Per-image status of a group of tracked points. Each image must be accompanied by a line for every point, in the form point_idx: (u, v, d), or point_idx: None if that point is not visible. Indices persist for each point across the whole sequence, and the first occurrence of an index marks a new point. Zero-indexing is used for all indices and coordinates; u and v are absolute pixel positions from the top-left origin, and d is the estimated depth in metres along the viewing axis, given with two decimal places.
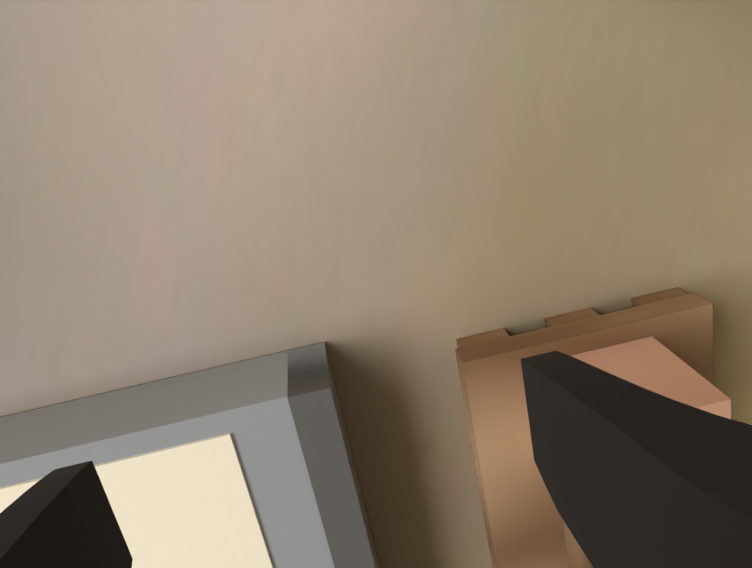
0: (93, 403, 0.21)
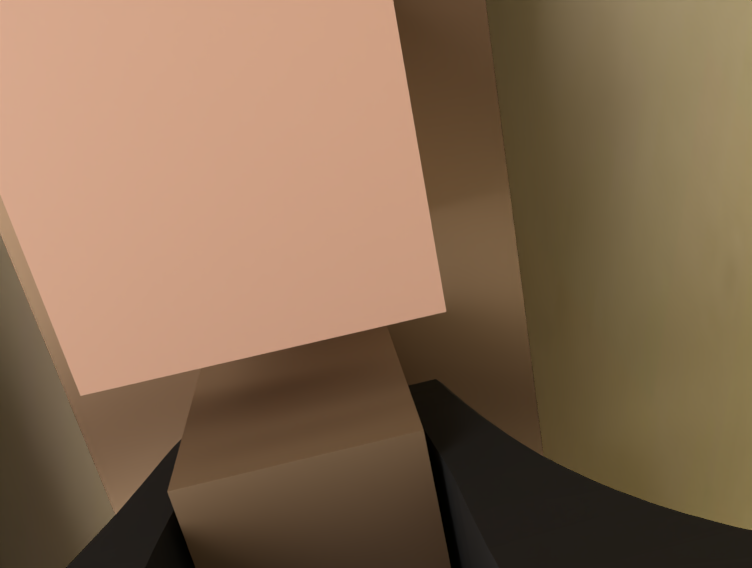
0: None
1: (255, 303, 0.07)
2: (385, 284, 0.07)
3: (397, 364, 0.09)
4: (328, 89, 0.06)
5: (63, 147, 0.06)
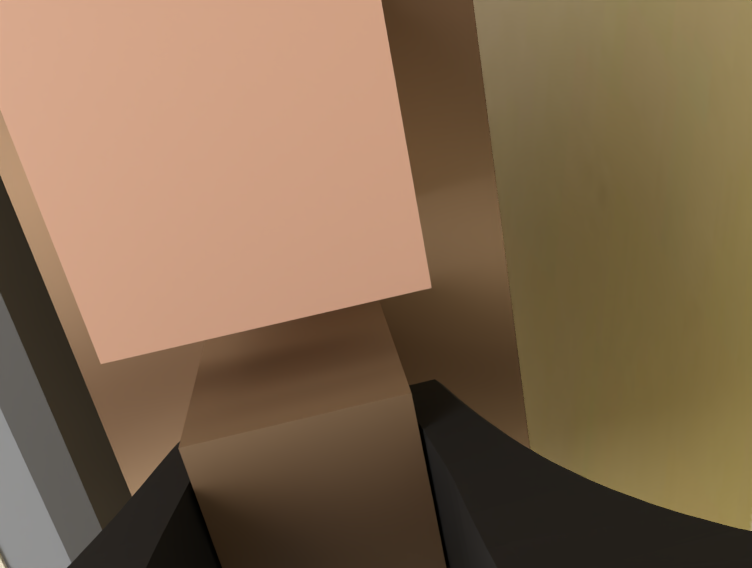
0: None
1: (258, 280, 0.08)
2: (376, 264, 0.08)
3: (388, 335, 0.10)
4: (324, 87, 0.07)
5: (85, 139, 0.07)
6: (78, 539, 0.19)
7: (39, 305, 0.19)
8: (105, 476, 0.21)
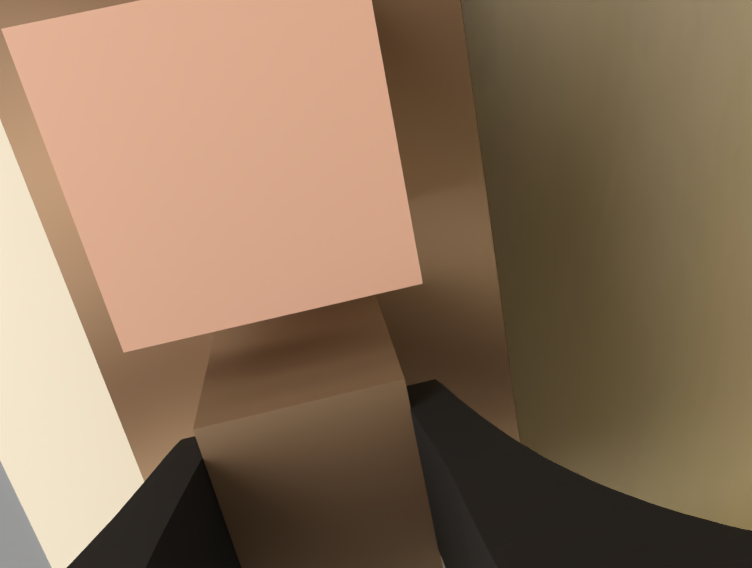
0: None
1: (266, 276, 0.09)
2: (372, 261, 0.09)
3: (384, 328, 0.11)
4: (325, 104, 0.08)
5: (112, 150, 0.08)
6: None
7: None
8: None
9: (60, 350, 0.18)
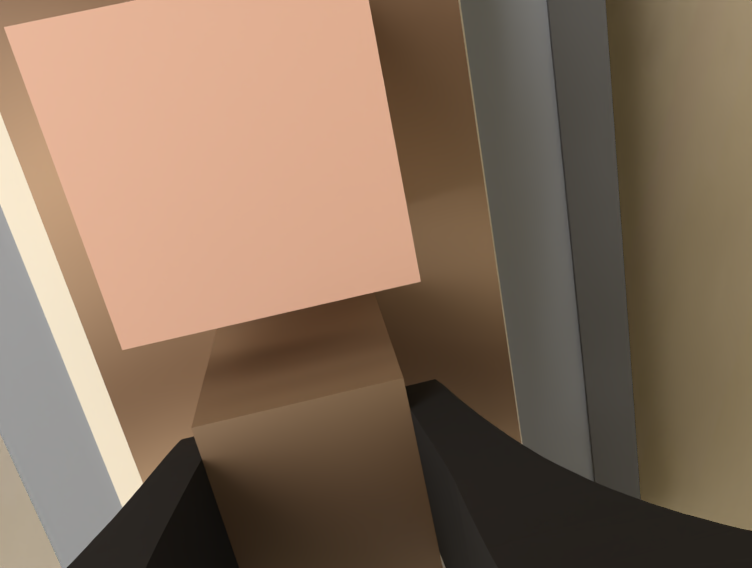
0: None
1: (264, 274, 0.09)
2: (370, 259, 0.09)
3: (384, 329, 0.11)
4: (323, 101, 0.08)
5: (112, 147, 0.08)
6: (611, 471, 0.18)
7: None
8: None
9: None
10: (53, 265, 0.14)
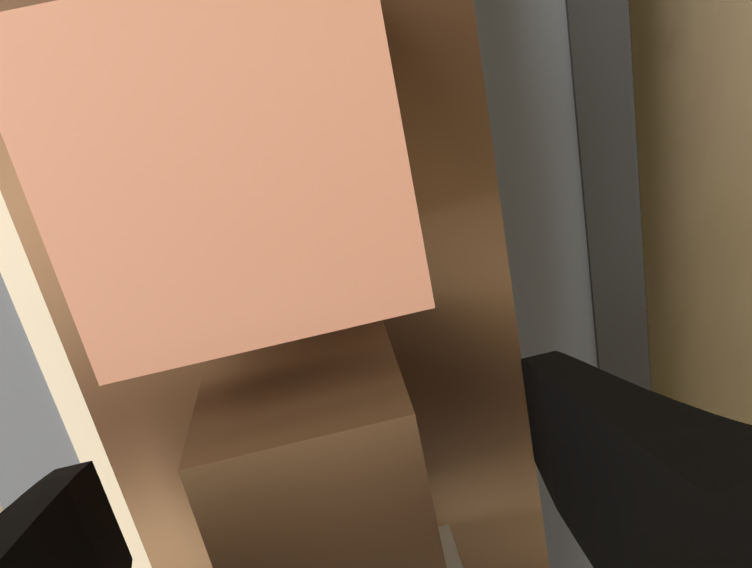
0: None
1: (259, 300, 0.08)
2: (378, 283, 0.08)
3: (391, 354, 0.10)
4: (326, 106, 0.07)
5: (85, 159, 0.07)
6: None
7: None
8: None
9: None
10: (34, 279, 0.13)
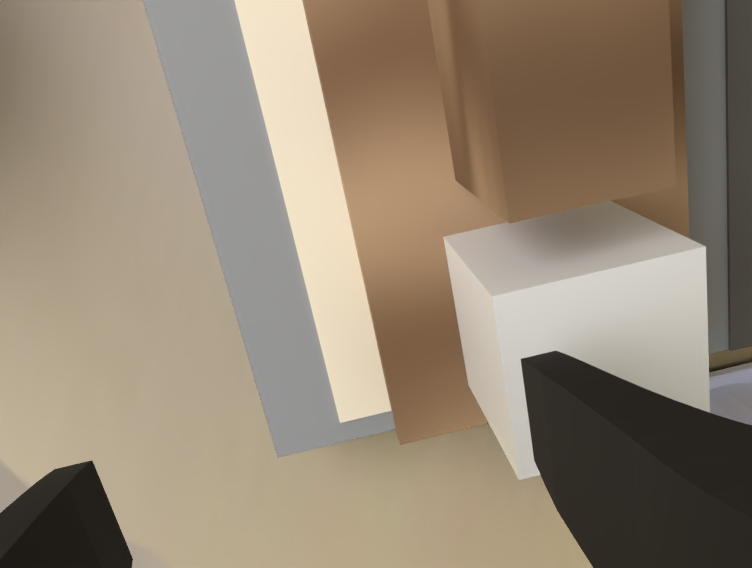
0: None
1: None
2: None
3: None
4: None
5: None
6: (745, 222, 0.19)
7: None
8: None
9: None
10: None
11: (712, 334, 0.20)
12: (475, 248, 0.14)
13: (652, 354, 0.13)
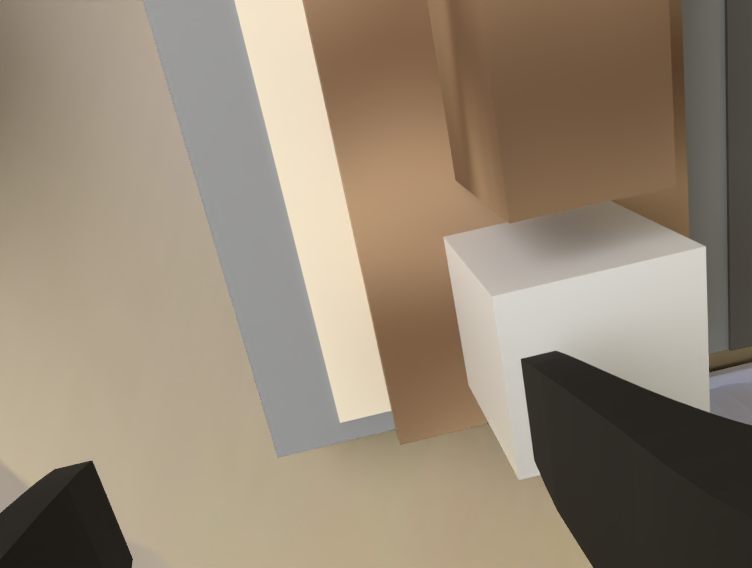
0: None
1: None
2: None
3: None
4: None
5: None
6: (745, 222, 0.19)
7: None
8: None
9: None
10: None
11: (712, 334, 0.20)
12: (475, 248, 0.14)
13: (652, 354, 0.13)
